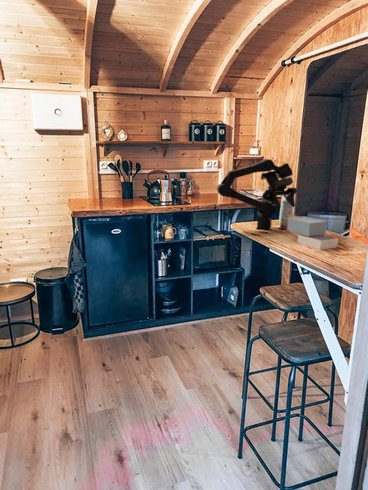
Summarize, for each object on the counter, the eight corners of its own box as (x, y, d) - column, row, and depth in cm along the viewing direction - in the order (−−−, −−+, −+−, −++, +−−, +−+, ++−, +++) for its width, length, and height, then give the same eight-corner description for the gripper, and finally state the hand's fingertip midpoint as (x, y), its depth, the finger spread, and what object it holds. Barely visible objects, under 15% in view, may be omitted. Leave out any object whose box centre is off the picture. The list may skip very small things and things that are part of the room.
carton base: (297, 242, 176) (298, 234, 175) (314, 240, 181) (315, 232, 180) (319, 249, 165) (321, 240, 164) (337, 247, 171) (338, 238, 170)
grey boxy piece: (279, 228, 185) (280, 215, 183) (296, 226, 190) (297, 214, 189) (308, 236, 170) (310, 222, 168) (325, 234, 175) (327, 220, 174)
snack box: (290, 229, 204) (293, 201, 200) (279, 228, 205) (282, 200, 201) (288, 221, 224) (291, 195, 220) (278, 221, 225) (280, 195, 221)
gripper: (268, 171, 184) (282, 198, 178) (296, 171, 194) (311, 196, 187) (256, 186, 193) (269, 212, 187) (283, 185, 202) (297, 209, 196)
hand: (287, 207), depth 189 cm, fingers open, 9 cm apart
